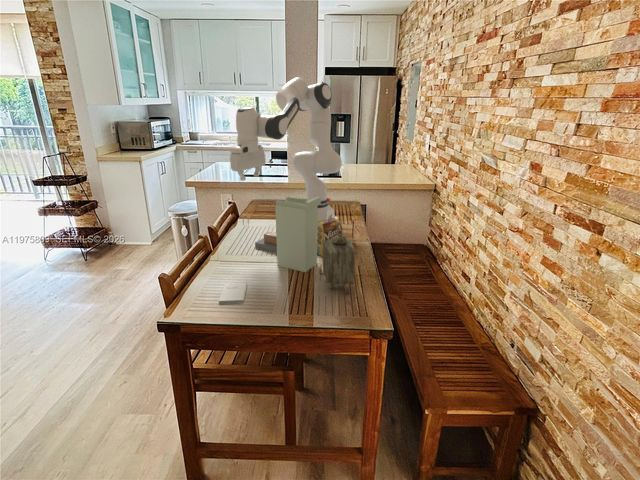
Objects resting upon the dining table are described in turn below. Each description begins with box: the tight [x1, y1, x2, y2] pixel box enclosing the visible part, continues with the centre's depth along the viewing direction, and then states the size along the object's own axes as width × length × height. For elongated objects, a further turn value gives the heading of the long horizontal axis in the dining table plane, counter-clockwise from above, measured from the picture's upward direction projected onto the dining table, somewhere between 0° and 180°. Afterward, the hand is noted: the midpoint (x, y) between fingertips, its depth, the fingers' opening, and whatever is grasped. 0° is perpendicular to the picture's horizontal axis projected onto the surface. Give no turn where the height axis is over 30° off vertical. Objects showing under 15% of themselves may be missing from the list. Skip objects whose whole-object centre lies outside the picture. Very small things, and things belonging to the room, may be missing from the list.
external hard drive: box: [218, 282, 248, 304], centre depth 132 cm, size 2×8×12 cm
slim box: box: [263, 231, 277, 245], centre depth 167 cm, size 4×22×4 cm, turn 61°
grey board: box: [254, 237, 277, 253], centre depth 169 cm, size 9×28×2 cm, turn 61°
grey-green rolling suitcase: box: [322, 221, 356, 295], centre depth 132 cm, size 14×9×25 cm, turn 8°
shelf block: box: [274, 195, 321, 273], centre depth 149 cm, size 10×15×29 cm, turn 61°
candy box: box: [317, 218, 340, 257], centre depth 164 cm, size 9×4×15 cm, turn 123°
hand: (249, 178), depth 166 cm, fingers open, 8 cm apart
